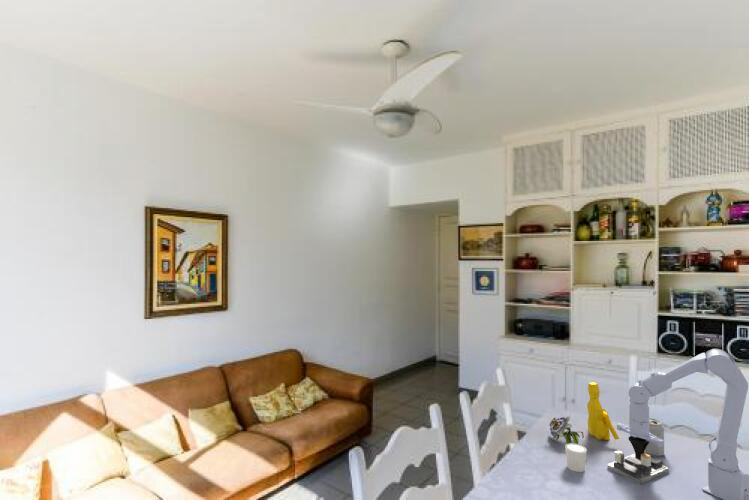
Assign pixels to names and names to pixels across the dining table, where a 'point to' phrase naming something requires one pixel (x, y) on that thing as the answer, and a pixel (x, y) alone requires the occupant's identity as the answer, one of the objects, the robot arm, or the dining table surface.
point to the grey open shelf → (637, 468)
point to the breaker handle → (645, 459)
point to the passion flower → (563, 430)
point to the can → (658, 431)
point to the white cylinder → (576, 457)
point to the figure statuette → (598, 416)
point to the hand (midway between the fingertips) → (639, 458)
